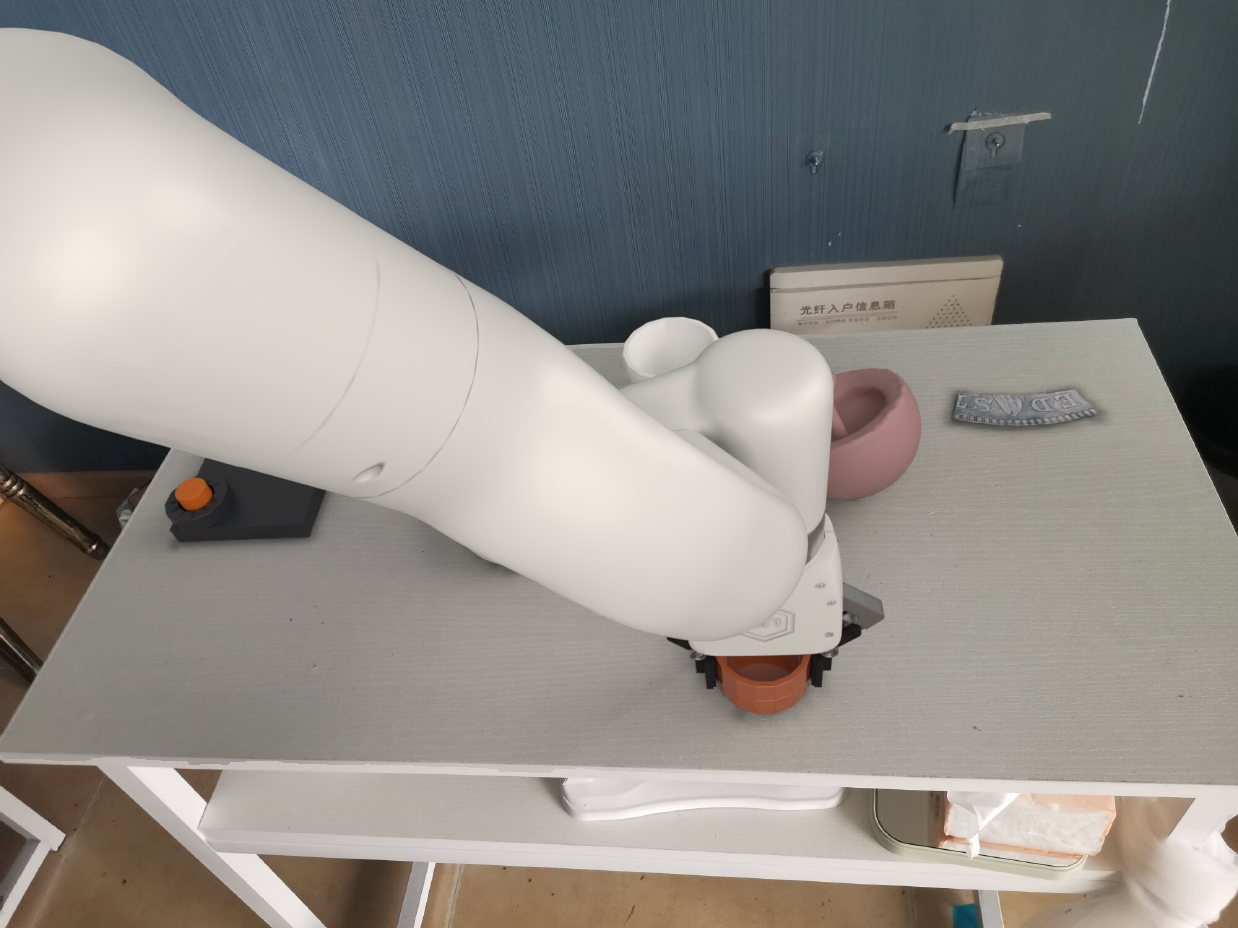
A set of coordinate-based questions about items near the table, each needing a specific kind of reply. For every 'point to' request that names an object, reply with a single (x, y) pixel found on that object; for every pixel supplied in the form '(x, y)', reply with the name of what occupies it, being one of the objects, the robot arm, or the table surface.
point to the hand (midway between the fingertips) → (762, 669)
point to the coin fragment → (1022, 408)
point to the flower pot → (763, 681)
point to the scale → (246, 506)
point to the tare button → (193, 494)
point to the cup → (664, 346)
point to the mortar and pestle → (870, 432)
